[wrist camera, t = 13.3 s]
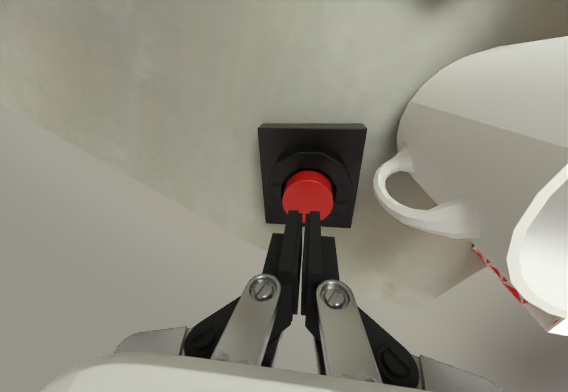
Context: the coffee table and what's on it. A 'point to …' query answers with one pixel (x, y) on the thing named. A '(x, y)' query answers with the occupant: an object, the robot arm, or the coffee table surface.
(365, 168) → the coffee table surface
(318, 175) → the button
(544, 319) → the white and red cube
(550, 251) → the mug
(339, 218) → the button box
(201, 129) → the coffee table surface
